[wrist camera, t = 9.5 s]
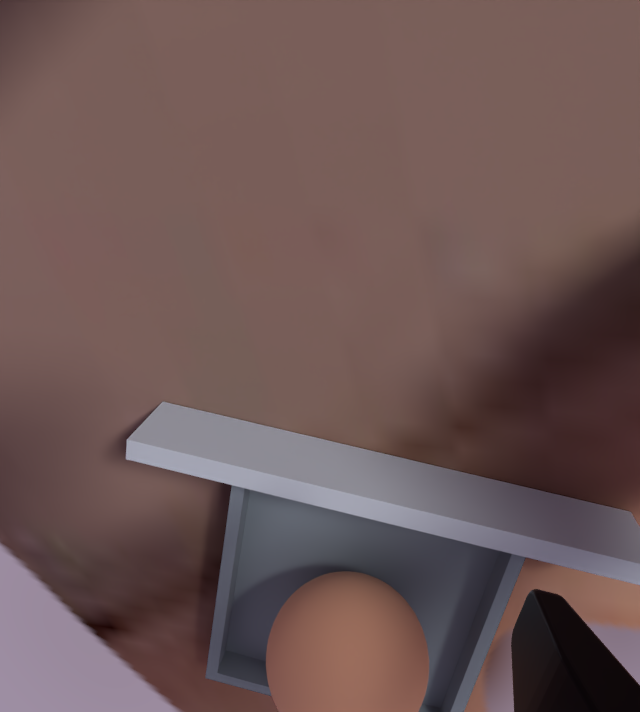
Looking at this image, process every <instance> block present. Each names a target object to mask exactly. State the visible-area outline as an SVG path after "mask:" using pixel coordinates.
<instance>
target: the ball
mask: <svg viewBox="0 0 640 712" xmlns="http://www.w3.org/2000/svg"><path fill="white" fill-rule="evenodd" d="M266 672H267V680H268V685H269V689H270V692H271V696H272V698H273V701H274V703H275V705H276V707H277V709H278V712H418V711H419V709H420V707H421V705H422V702H423V700H424V697H425V693H426V689H427V684H428V679H429V655H428V647H427V642H426V639H425V636H424V632H423V629H422V626H421V624H420V622H419V620H418V618H417V616H416V614H415V612H414V611H413V610H412V608H411V607H410V605H409V604H408V603H407V601H406V600H405V599H404V598H403V597H402V596H401V595H400V594H399V593H398V592H397V591H396V590H395V589H393V588H392V587H391V586H390V585H388V584H387V583H385V582H383V581H381V580H380V579H378V578H375V577H373V576H370V575H367V574H363V573H359V572H351V571H340V572H333V573H328V574H324V575H321V576H319V577H316V578H314V579H312V580H311V581H309V582H307V583H305V584H304V585H303V586H301V587H300V588H299V589H297V590H296V591H295V592H294V593H293V594H292V595H291V596H290V597H289V598H288V600H287V601H286V602H285V604H284V605H283V606H282V608H281V609H280V611H279V613H278V615H277V617H276V619H275V621H274V623H273V626H272V628H271V631H270V635H269V638H268V644H267V651H266Z"/></svg>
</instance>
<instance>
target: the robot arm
mask: <svg viewBox="0 0 640 712" xmlns="http://www.w3.org/2000/svg"><path fill="white" fill-rule="evenodd" d="M511 644H512V645H511V647H512V670H513V694H514V712H640V685H639V684H638V683H637V682H636V680H635V679H634V678H633V677H632V676H631V675H630V674H629V673H628V671H627V670H626V669H625V668H624V667H623V666H622V664H621V663H620V662H619V661H618V660H617V659H616V658H615V656H614V655H613V654H612V653H611V652H610V651H609V650H608V648H607V647H606V646H605V645H604V644H603V643H602V642H601V640H600V639H599V638H598V637H597V636H596V635H595V634H594V632H593V631H592V630H591V629H590V628H589V627H588V626H587V624H586V623H585V622H584V621H583V620H582V619H581V617H580V616H579V615H578V614H577V613H576V612H575V611H574V609H573V608H572V607H571V606H570V605H569V604H568V603H567V601H566V600H565V599H564V598H563V597H561V596H560V595H558V594H554V593H550V592H546V591H542V590H538V589H534V590H532V591H530V593H529V594H528V596H527V598H526V600H525V603H524V605H523V607H522V610H521V612H520V615H519V617H518V619H517V622H516V624H515V626H514V629H513V633H512V642H511Z"/></svg>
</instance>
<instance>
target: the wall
mask: <svg viewBox="0 0 640 712" xmlns="http://www.w3.org/2000/svg"><path fill="white" fill-rule="evenodd" d="M126 459H128V460H132V461H136V462H140V463H144V464H148V465H152V466H156V467H160V468H164V469H168V470H172V471H176V472H181V473H185V474H189V475H193V476H197V477H201V478H205V479H209V480H213V481H217V482H221V483H225V484H229V485H233V486H238V487H242V488H246V489H250V490H254V491H258V492H262V493H266V494H270V495H274V496H278V497H282V498H286V499H291V500H295V501H299V502H303V503H307V504H311V505H315V506H319V507H323V508H327V509H331V510H335V511H339V512H344V513H348V514H352V515H356V516H360V517H364V518H368V519H372V520H376V521H380V522H384V523H388V524H392V525H396V526H401V527H405V528H409V529H413V530H417V531H421V532H425V533H429V534H433V535H437V536H441V537H445V538H449V539H454V540H458V541H462V542H466V543H470V544H474V545H478V546H482V547H486V548H490V549H494V550H498V551H502V552H507V553H511V554H515V555H519V556H523V557H527V558H531V559H535V560H539V561H543V562H547V563H551V564H555V565H559V566H564V567H568V568H572V569H576V570H580V571H584V572H588V573H592V574H596V575H600V576H604V577H608V578H612V579H617V580H621V581H625V582H629V583H633V584H637V585H640V527H639V525H638V524H637V522H636V520H635V518H634V516H633V515H632V513H631V512H629V511H625V510H621V509H617V508H612V507H608V506H604V505H600V504H595V503H591V502H587V501H583V500H578V499H574V498H570V497H566V496H561V495H557V494H553V493H549V492H545V491H540V490H536V489H532V488H528V487H523V486H519V485H515V484H511V483H506V482H502V481H498V480H494V479H489V478H485V477H481V476H477V475H472V474H468V473H464V472H460V471H455V470H451V469H447V468H443V467H438V466H434V465H430V464H426V463H421V462H417V461H413V460H409V459H404V458H400V457H396V456H392V455H387V454H383V453H379V452H375V451H371V450H366V449H362V448H358V447H354V446H349V445H345V444H341V443H337V442H332V441H328V440H324V439H320V438H315V437H311V436H307V435H303V434H298V433H294V432H290V431H286V430H281V429H277V428H273V427H269V426H264V425H260V424H256V423H252V422H247V421H243V420H239V419H235V418H230V417H226V416H222V415H218V414H213V413H209V412H205V411H201V410H196V409H192V408H188V407H184V406H180V405H175V404H171V403H167V402H162V403H161V404H160V405H159V406H158V407H157V408H156V409H155V410H154V411H153V412H152V413H151V414H150V416H149V417H148V418H147V419H146V420H145V421H144V422H143V423H142V424H141V425H140V426H139V427H138V428H137V429H136V430H135V431H134V432H133V433H132V435H131V436H130V437H129V438H128V439H127V446H126Z"/></svg>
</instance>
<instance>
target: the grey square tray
mask: <svg viewBox="0 0 640 712" xmlns="http://www.w3.org/2000/svg"><path fill="white" fill-rule="evenodd" d="M525 558H526V557H523V556H519V555H515V554H511V553H507V552H502V551H498V550H494V549H490V548H486V547H482V546H478V545H474V544H470V543H466V542H462V541H458V540H454V539H449V538H445V537H441V536H437V535H433V534H429V533H425V532H421V531H417V530H413V529H409V528H405V527H401V526H396V525H392V524H388V523H384V522H380V521H376V520H372V519H368V518H364V517H360V516H356V515H352V514H348V513H344V512H339V511H335V510H331V509H327V508H323V507H319V506H315V505H311V504H307V503H303V502H299V501H295V500H291V499H286V498H282V497H278V496H274V495H270V494H266V493H262V492H258V491H254V490H250V489H246V488H242V487H238V486H233V485H232V487H231V494H230V502H229V509H228V516H227V524H226V531H225V538H224V546H223V553H222V560H221V567H220V575H219V582H218V589H217V597H216V604H215V611H214V619H213V626H212V633H211V641H210V648H209V655H208V662H207V670H206V677H205V678H207V679H211V680H214V681H218V682H222V683H225V684H229V685H233V686H236V687H240V688H244V689H247V690H251V691H255V692H258V693H262V694H265V695H269V696H271V692H270V689H269V685H268V680H267V672H266V651H267V644H268V638H269V635H270V631H271V628H272V626H273V623H274V621H275V619H276V617H277V615H278V613H279V611H280V609H281V608H282V606H283V605H284V604H285V602H286V601H287V600H288V598H289V597H290V596H291V595H292V594H293V593H294V592H295V591H296V590H297V589H299V588H300V587H301V586H303V585H304V584H305V583H307V582H309V581H311V580H312V579H314V578H316V577H319V576H321V575H324V574H328V573H333V572H340V571H351V572H359V573H363V574H367V575H370V576H373V577H375V578H378V579H380V580H381V581H383V582H385V583H387V584H388V585H390V586H391V587H392V588H393V589H395V590H396V591H397V592H398V593H399V594H400V595H401V596H402V597H403V598H404V599H405V600H406V601H407V603H408V604H409V605H410V607H411V608H412V610H413V611H414V612H415V614H416V616H417V618H418V620H419V622H420V624H421V626H422V629H423V632H424V636H425V639H426V642H427V647H428V655H429V679H428V684H427V689H426V693H425V697H424V700H423V702H422V705H421V707H420V709H419V711H418V712H464V710H465V707H466V705H467V702H468V700H469V697H470V695H471V692H472V690H473V687H474V685H475V682H476V680H477V677H478V675H479V673H480V670H481V668H482V665H483V663H484V660H485V658H486V655H487V653H488V650H489V648H490V645H491V643H492V640H493V638H494V635H495V633H496V630H497V628H498V625H499V623H500V620H501V618H502V615H503V613H504V610H505V608H506V605H507V603H508V600H509V598H510V595H511V593H512V590H513V588H514V585H515V583H516V581H517V578H518V576H519V573H520V571H521V568H522V566H523V563H524V561H525Z"/></svg>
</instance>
